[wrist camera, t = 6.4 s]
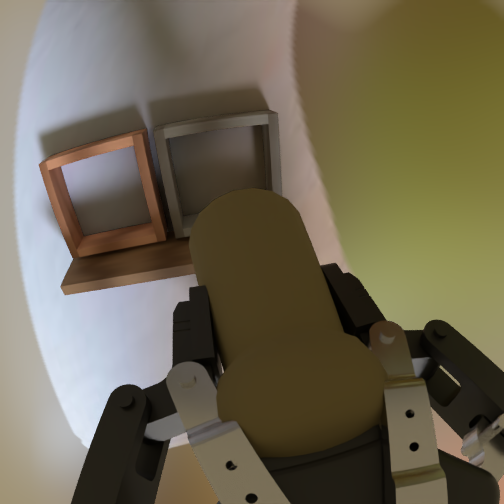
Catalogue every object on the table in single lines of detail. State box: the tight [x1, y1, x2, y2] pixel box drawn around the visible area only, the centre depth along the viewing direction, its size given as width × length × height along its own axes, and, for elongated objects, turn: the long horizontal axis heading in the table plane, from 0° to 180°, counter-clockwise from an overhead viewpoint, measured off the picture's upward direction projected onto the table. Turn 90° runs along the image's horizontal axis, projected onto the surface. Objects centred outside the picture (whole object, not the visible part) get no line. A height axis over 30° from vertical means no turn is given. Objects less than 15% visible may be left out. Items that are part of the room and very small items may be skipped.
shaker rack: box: [39, 110, 282, 295], centre depth 23 cm, size 21×11×6 cm, turn 94°
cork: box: [189, 188, 388, 458], centre depth 11 cm, size 6×6×11 cm
